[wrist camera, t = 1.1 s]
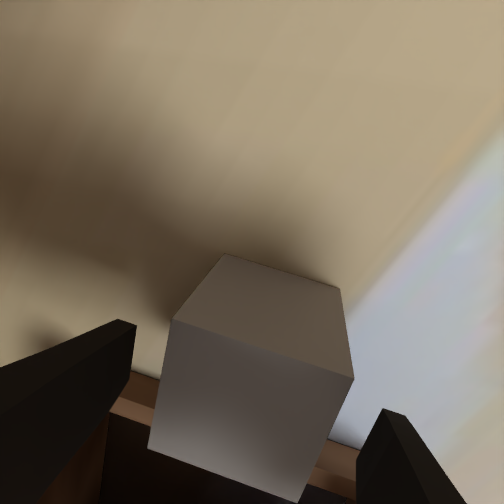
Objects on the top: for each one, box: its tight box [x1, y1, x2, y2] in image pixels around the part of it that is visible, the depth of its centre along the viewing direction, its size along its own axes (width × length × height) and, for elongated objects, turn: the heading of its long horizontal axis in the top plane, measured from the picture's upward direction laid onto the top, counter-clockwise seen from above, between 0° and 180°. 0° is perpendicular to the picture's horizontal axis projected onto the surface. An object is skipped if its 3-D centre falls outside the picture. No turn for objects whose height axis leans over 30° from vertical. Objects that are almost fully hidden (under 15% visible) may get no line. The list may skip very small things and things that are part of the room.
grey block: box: [147, 253, 354, 503], centre depth 11 cm, size 4×4×5 cm
